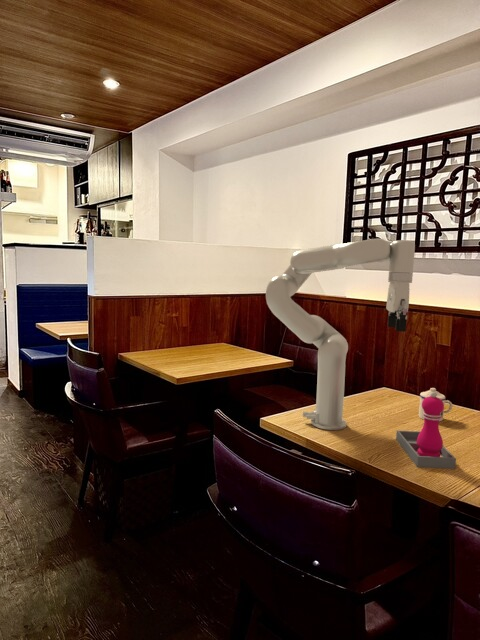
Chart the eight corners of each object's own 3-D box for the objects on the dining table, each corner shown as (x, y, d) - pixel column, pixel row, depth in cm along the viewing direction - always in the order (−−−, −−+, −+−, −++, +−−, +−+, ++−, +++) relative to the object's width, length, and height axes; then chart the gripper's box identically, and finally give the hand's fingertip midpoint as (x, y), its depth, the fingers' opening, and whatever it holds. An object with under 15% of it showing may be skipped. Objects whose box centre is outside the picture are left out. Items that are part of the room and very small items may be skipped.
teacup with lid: (421, 421, 170) (424, 391, 168) (415, 413, 179) (417, 384, 177) (455, 423, 168) (458, 393, 167) (446, 415, 177) (449, 386, 176)
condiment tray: (417, 467, 130) (417, 456, 130) (396, 439, 151) (396, 430, 151) (455, 468, 130) (456, 458, 130) (428, 440, 151) (429, 431, 150)
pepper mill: (444, 463, 131) (450, 396, 129) (417, 460, 133) (423, 394, 130) (438, 453, 138) (444, 389, 136) (413, 450, 140) (418, 387, 137)
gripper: (382, 277, 160) (378, 325, 162) (396, 278, 142) (391, 332, 145) (404, 277, 159) (400, 326, 161) (420, 279, 142) (415, 333, 144)
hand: (396, 329), depth 153 cm, fingers open, 9 cm apart
